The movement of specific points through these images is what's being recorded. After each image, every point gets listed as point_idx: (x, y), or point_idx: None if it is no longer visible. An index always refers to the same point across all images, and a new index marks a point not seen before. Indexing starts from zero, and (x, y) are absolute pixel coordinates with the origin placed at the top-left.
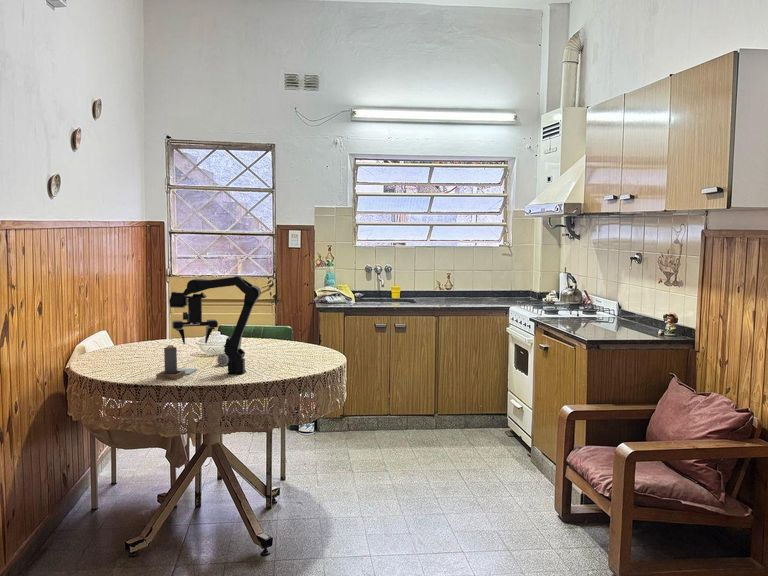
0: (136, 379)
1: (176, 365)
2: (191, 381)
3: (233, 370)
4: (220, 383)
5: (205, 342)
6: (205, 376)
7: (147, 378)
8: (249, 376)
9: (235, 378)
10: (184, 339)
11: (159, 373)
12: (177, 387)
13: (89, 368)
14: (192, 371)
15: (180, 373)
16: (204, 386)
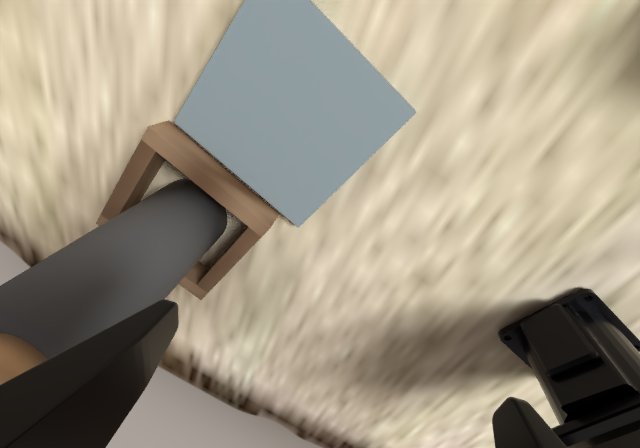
0: (14, 153)
1: (184, 275)
2: (265, 343)
3: (531, 366)
4: (355, 425)
5: (496, 430)
6: (365, 302)
7: (70, 164)
8: (543, 418)
9: (460, 407)
10: (116, 424)
11: (113, 211)
12: (192, 382)
13: None
14: (342, 180)
15: (227, 271)
16: (284, 421)
